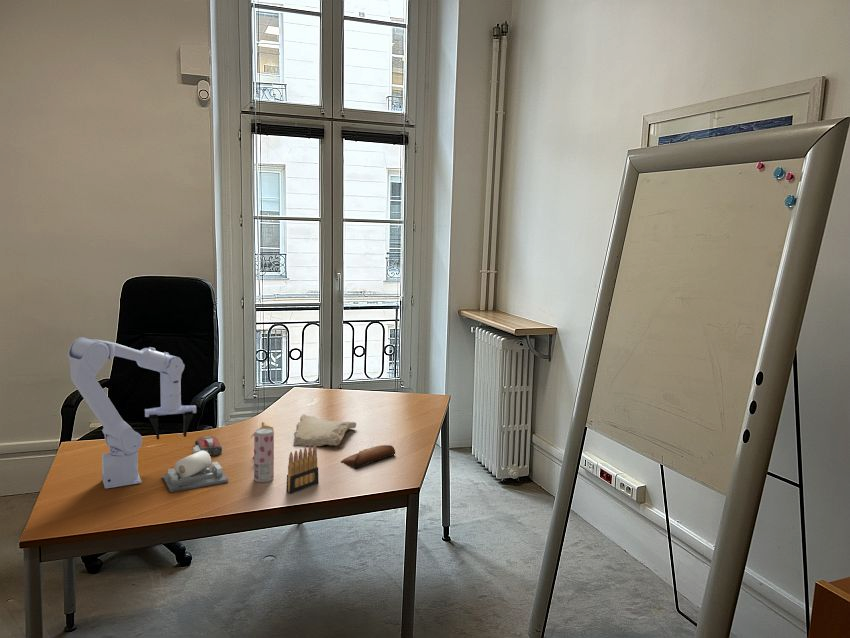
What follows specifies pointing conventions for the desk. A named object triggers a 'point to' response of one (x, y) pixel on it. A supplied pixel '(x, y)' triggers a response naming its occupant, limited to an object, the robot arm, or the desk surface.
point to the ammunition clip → (302, 470)
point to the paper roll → (192, 464)
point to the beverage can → (263, 455)
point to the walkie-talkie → (208, 445)
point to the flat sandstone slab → (320, 431)
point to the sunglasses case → (369, 455)
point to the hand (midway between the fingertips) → (171, 437)
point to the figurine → (264, 427)
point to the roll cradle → (195, 478)
